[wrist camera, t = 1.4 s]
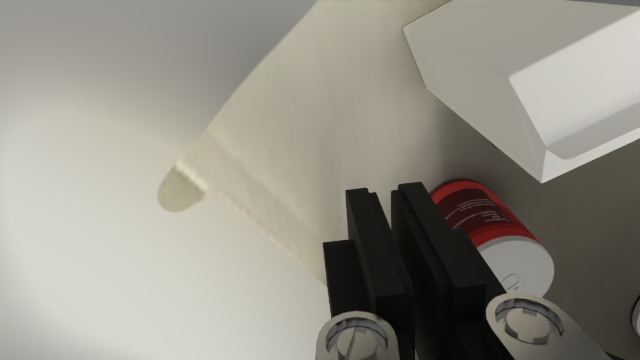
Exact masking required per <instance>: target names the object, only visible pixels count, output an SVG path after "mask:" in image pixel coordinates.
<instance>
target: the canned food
mask: <svg viewBox="0 0 640 360" xmlns="http://www.w3.org/2000/svg"><path fill="white" fill-rule="evenodd" d="M430 196H431V198H432V199H433V201H434V202H435V204H436V206H437V207H438V209H439V210H440V212H441V213H442V215H443V216H444V218H445V220H446V221H447V223H448V224H449V226H450V227H451V228H456V227H460V228H462V229H463V230H464V231H465V232H466V234H467V235H468V237H469V238H470V239H471V241H472V242H473V244H474V245H475V247H476V248H477V250H478V251H479V253H480V254H481V255H482V257H483V258H484V260H485V261H486V263H487V264H488V266H489V267H490V268H491V270H492V271H493V273H494V274H495V276H496V277H497V279H498V280H499V282H500V283H501V284H502V286H503V287H504V289H505V290H506V292H507V293H525V294H531V295H534V296H537V297H541V298H542V297H543V296H544V294H545V293H546V292H547V291H548V289H549V287H550V285H551V283H552V280H553V277H554V264H553V261H552V258H551V256H550V255H549V254H548V252H547V250H546V249H545V248H544V247H543V246H542V245H541V244H540V242H539V241H538V240H537V239H536V238H535V237H534V236H533V235H532V234H531V233H530V231H529V230H528V229H527V228H526V227H525V226H524V225H523V224H522V223H521V222H520V221H519V220H518V219H517V218H516V217H515V216H514V215H513V214H512V213H511V212H510V210H509V209H508V208H507V207H506V206H505V205H504V204H503V203H502V202H501V201H500V200H499V199H498V198H497V197H496V196H495V195H494V194H493V193H492V192H491V190H489V189H488V188H487V187H485V186H483V185H481V184H479V183H476V182H473V181H469V180H457V181H452V182H449V183H446V184H444V185H442V186H440V187H439V188H438V189H436V190H435V191H434V192H433V193H432V194H431V195H430Z"/></svg>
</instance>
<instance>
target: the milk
mask: <svg viewBox="0 0 640 360" xmlns="http://www.w3.org/2000/svg"><path fill="white" fill-rule="evenodd" d="M402 30H403V33H404V35H405V37H406V40H407V42H408V45H409V47H410V49H411V52H412V54H413V57H414V59H415V62H416V64H417V66H418V69H419V71H420V74H421V76H422V79H423V81H424V83H425V86H426V88H427V90H429V91H430V92H431V93H432V94H433V95H435V96H436V97H437V98H438V99H439V100H441V101H442V102H443V103H444V104H446V105H447V106H448V107H449V108H450V109H452V110H453V111H454V112H455V113H456V114H458V115H459V116H460V117H461V118H463V119H464V120H465V121H466V122H467V123H469V124H470V125H471V126H472V127H473V128H475V129H476V130H477V131H478V132H480V133H481V134H482V135H483V136H484V137H486V138H487V139H488V140H489V141H490V142H492V143H493V144H494V145H495V146H497V147H498V148H499V149H500V150H501V151H503V152H504V153H505V154H506V155H507V156H509V157H510V158H511V159H512V160H514V161H515V162H516V163H517V164H518V165H520V166H521V167H522V168H523V169H524V170H526V171H527V172H528V173H529V174H531V175H532V176H533V177H534V178H535V179H537V180H538V181H539V182H540V183H544V182H546V181H548V180H551V179H553V178H555V177H557V176H559V175H561V174H564V173H566V172H568V171H570V170H572V169H574V168H577V167H579V166H581V165H583V164H585V163H587V162H589V161H592V160H594V159H596V158H598V157H600V156H602V155H605V154H607V153H609V152H611V151H613V150H615V149H618V148H620V147H622V146H624V145H626V144H628V143H631V142H633V141H635V140H637V139H639V138H640V7H636V6H625V5H614V4H603V3H592V2H580V1H569V0H451V1H449V2H448V3H446V4H444V5H442V6H440V7H438V8H437V9H435V10H433V11H431V12H429V13H428V14H426V15H424V16H422V17H420V18H419V19H417V20H415V21H413V22H411V23H409V24H408V25H406V26H404V27H402Z"/></svg>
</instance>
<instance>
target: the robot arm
mask: <svg viewBox="0 0 640 360" xmlns="http://www.w3.org/2000/svg"><path fill="white" fill-rule="evenodd" d="M346 208H347V222H348V237H349V240H341V241H332V242H323V250H324V259H325V269H326V278H327V287H328V295H329V304H330V312H331V319H330V320H329V321H328V322H326V323H325V325H324V326H323V327H322V329H321V330H320V332H319V335H318V339H317V344H316V357H315V360H415V349H416V352H417V355H418V358H419V360H624V359H622V358H619V357H617V356H615V355H612V354H610V353H607V352H605V351H603V350H602V349H601V348H600V347H599V346H598V345H597V344H596V343H595V342H594V341H593V340H592V339H591V338H590V337H589V336H588V335H587V334H586V333H585V332H584V331H583V330H582V329H581V328H580V327H579V326H578V325H577V324H576V323H575V322H574V321H573V320H572V319H571V318H570V317H569V316H568V315H567V314H566V313H565V312H564V311H562V310H561V309H560V308H558V307H557V306H556V305H555V304H553V303H551V302H549V301H547V300H545V299H543V298H541V297H537V296H534V295H531V294H525V293H507V292H506V290H505V289H504V287H503V286H502V284H501V283H500V282H499V280H498V279H497V277H496V276H495V274H494V273H493V271H492V270H491V268H490V267H489V266H488V264H487V263H486V261H485V260H484V258H483V257H482V255H481V254H480V253H479V251H478V250H477V248H476V247H475V245H474V244H473V242H472V241H471V239H470V238H469V237H468V235H467V234H466V232H465V231H464V230H463V229H462V228H460V227H456V228H451V227H450V226H449V224H448V223H447V221H446V220H445V218H444V216H443V215H442V213H441V212H440V210H439V209H438V207H437V206H436V204H435V202H434V201H433V199H432V198H431V196H430V195H429V193H428V192H427V190H426V188H425V187H424V185H423V184H422V183H421V182H414V183H405V184H399V186H398V190H392V191H391V229H390V226H389V224H388V221H387V219H386V216H385V214H384V211H383V209H382V206H381V204H380V201H379V199H378V196H377V194H376V192H374V193H369V192H368V189H367V188H360V189H351V190H346ZM632 325H633V327H634V330H635V331H636V333H637V334H638V335H639V336H640V299H639V301H638V302H637V304H636V306H635V309H634V311H633V316H632Z"/></svg>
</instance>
